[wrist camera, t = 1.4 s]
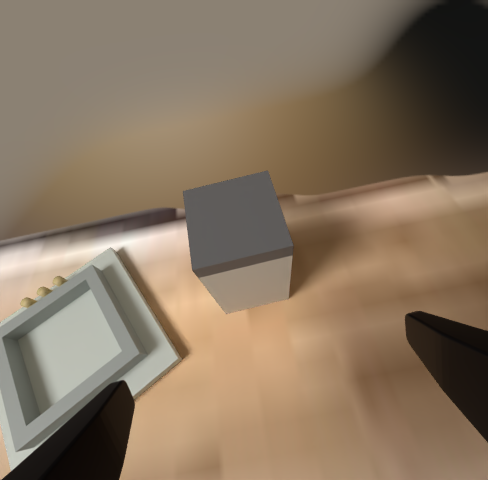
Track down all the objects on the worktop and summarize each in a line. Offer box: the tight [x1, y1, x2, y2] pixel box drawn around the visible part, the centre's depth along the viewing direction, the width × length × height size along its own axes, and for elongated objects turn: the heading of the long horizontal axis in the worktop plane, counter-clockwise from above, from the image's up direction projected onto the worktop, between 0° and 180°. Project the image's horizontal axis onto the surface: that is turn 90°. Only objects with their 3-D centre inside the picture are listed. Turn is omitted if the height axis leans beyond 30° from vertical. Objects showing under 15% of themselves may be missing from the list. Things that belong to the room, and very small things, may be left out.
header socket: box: [0, 247, 182, 471], centre depth 22 cm, size 13×13×2 cm
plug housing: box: [183, 171, 294, 314], centre depth 20 cm, size 6×6×10 cm
